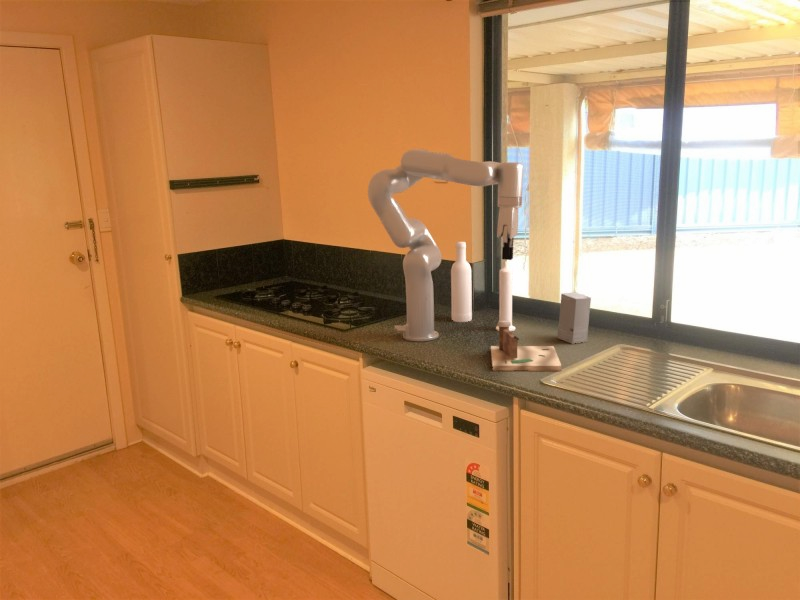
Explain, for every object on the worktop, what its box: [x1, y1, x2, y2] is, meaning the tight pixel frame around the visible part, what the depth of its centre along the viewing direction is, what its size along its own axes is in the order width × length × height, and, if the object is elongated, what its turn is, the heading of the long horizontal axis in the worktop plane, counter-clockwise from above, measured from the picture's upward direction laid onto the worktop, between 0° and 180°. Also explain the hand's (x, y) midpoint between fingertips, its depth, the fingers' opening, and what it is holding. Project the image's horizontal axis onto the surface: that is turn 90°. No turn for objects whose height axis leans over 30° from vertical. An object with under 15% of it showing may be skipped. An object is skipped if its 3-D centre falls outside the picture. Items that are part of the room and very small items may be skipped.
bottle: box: [450, 241, 473, 323], centre depth 256 cm, size 8×8×30 cm
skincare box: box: [557, 292, 592, 345], centre depth 226 cm, size 8×7×16 cm
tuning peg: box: [497, 320, 520, 359], centre depth 208 cm, size 16×4×9 cm, turn 9°
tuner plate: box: [490, 345, 563, 372], centre depth 208 cm, size 20×20×2 cm
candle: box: [495, 260, 516, 332], centre depth 241 cm, size 7×7×25 cm
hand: (507, 259), depth 218 cm, fingers closed
